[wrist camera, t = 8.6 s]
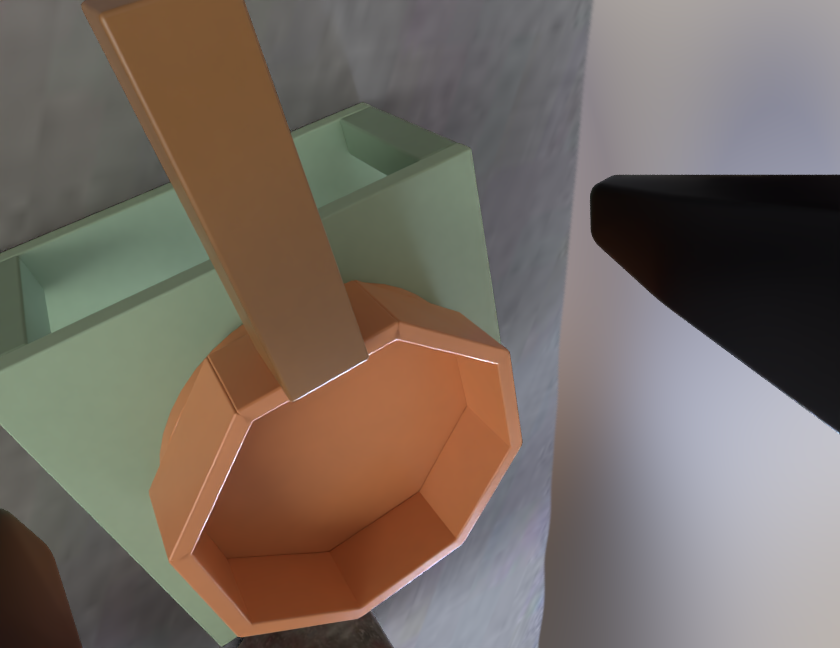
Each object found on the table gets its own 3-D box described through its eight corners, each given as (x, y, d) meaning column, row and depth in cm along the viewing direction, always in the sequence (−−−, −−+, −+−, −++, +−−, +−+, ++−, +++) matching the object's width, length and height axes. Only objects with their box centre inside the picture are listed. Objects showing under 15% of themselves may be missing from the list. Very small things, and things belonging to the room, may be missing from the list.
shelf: (431, 364, 27) (517, 446, 22) (177, 516, 23) (221, 648, 19) (363, 101, 19) (471, 147, 15) (-31, 265, 16) (-37, 389, 11)
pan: (478, 442, 21) (539, 503, 19) (244, 598, 18) (281, 692, 16) (362, -92, 11) (461, -102, 9) (-190, 74, 8) (-258, 125, 6)
